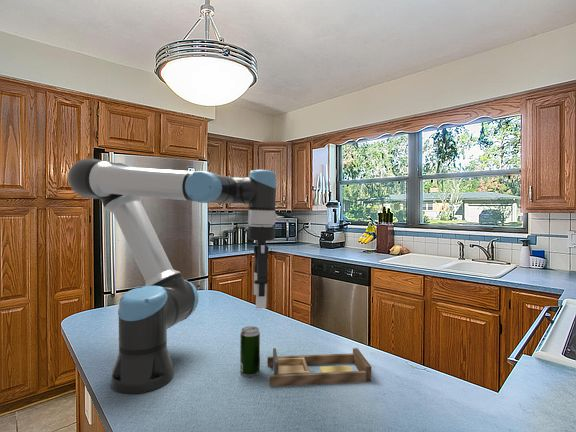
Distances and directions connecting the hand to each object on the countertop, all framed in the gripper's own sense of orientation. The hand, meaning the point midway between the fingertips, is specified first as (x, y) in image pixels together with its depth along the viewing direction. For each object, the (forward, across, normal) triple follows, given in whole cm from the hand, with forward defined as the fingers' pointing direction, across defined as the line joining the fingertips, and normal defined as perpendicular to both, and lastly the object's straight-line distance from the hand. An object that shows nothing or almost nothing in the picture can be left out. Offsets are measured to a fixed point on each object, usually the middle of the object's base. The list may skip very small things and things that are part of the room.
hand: (259, 301), depth 97 cm
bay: (+19, -5, -16) cm, 25 cm away
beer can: (+20, -2, +2) cm, 20 cm away
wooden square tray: (+19, -5, -9) cm, 21 cm away
